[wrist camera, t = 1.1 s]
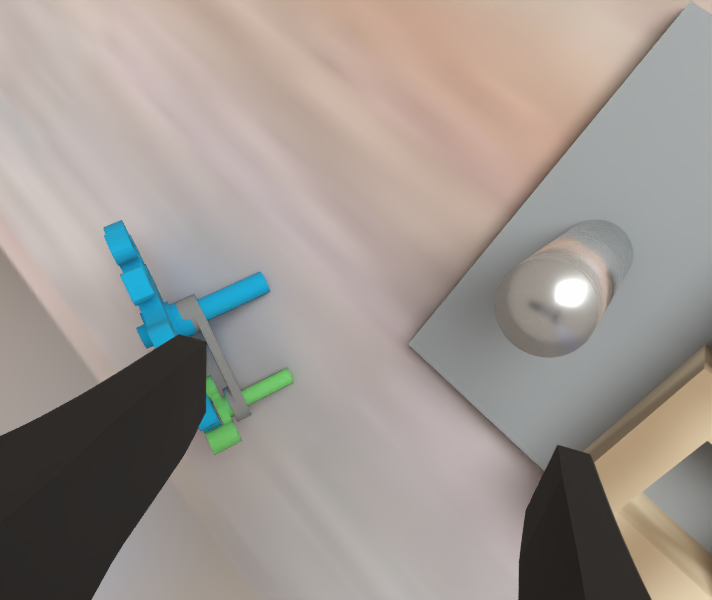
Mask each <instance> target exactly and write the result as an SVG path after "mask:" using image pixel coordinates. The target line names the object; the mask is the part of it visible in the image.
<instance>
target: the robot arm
mask: <svg viewBox="0 0 712 600" xmlns="http://www.w3.org/2000/svg"><path fill="white" fill-rule="evenodd" d="M205 413H206V342H205V341H201V340H198V339H194V338H191V337H187V336H184V335H181V334H178V335H177V336H175V337H173V338H172V339H170V340H168V341H167V342H165V343H164V344H162V345H160V346H159V347H157V348H156V349H154V350H153V351H151V352H149V353H148V354H146V355H145V356H143V357H142V358H140V359H139V360H137V361H135V362H134V363H132V364H131V365H129V366H128V367H126V368H124V369H123V370H121V371H120V372H118V373H116V374H115V375H113V376H111V377H110V378H108V379H106V380H105V381H103V382H101V383H100V384H98V385H96V386H95V387H93V388H92V389H90V390H88V391H87V392H85V393H83V394H81V395H79V396H78V397H76V398H74V399H72V400H71V401H69V402H67V403H65V404H63V405H61V406H60V407H58V408H56V409H54V410H52V411H50V412H49V413H47V414H45V415H43V416H41V417H39V418H37V419H35V420H33V421H31V422H29V423H27V424H25V425H23V426H21V427H19V428H17V429H15V430H12V431H10V432H8V433H6V434H4V435H1V436H0V600H91V599H92V598H93V596H94V594H95V592H96V590H97V589H98V587H99V585H100V583H101V581H102V579H103V578H104V576H105V574H106V572H107V570H108V569H109V567H110V565H111V563H112V562H113V560H114V558H115V557H116V555H117V553H118V552H119V550H120V549H121V547H122V546H123V544H124V543H125V541H126V540H127V538H128V537H129V535H130V534H131V532H132V531H133V529H134V528H135V527H136V525H137V524H138V522H139V521H140V519H141V518H142V516H143V515H144V513H145V512H146V510H147V509H148V507H149V506H150V505H151V503H152V502H153V500H154V499H155V497H156V496H157V494H158V493H159V492H160V490H161V489H162V487H163V486H164V484H165V483H166V481H167V480H168V478H169V477H170V475H171V474H172V472H173V471H174V469H175V468H176V466H177V465H178V463H179V462H180V460H181V459H182V457H183V456H184V454H185V453H186V451H187V449H188V447H189V445H190V443H191V441H192V439H193V437H194V436H195V434H196V432H197V430H198V427H199V425H200V423H201V421H202V419H203V417H204V415H205ZM519 600H652V599H651V597H650V595H649V593H648V591H647V589H646V587H645V585H644V583H643V581H642V579H641V576H640V574H639V572H638V570H637V568H636V566H635V563H634V561H633V559H632V557H631V554H630V552H629V550H628V548H627V545H626V543H625V541H624V539H623V536H622V534H621V532H620V529H619V527H618V524H617V522H616V519H615V517H614V514H613V512H612V509H611V507H610V504H609V502H608V499H607V497H606V494H605V491H604V489H603V486H602V483H601V480H600V478H599V475H598V472H597V469H596V466H595V463H594V461H593V459H592V457H591V455H590V454H588V453H585V452H581V451H578V450H574V449H571V448H568V447H564V446H561V445H557V447H556V449H555V451H554V453H553V455H552V457H551V459H550V461H549V463H548V465H547V467H546V469H545V471H544V474H543V476H542V478H541V480H540V482H539V484H538V486H537V488H536V490H535V492H534V494H533V496H532V498H531V501H530V503H529V505H528V507H527V509H526V512H525V520H524V527H523V534H522V542H521V550H520V558H519Z"/></svg>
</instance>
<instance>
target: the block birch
mask: <svg viewBox="0 0 712 600" xmlns="http://www.w3.org/2000/svg"><path fill="white" fill-rule="evenodd" d="M706 441H708V442H710V443H711V444H712V350H711V349H710V348H708V347H707V346H706V345H704V346H703V347H701V348H700V349H699V350H698V351H697V352H696V353H695V354H693V355H692V356H691V357H690V358H689V359H688V360H687V361H685V362H684V363H683V364H682V365H681V366H680V367H679V368H677V369H676V370H675V371H674V372H673V373H672V374H671V375H669V376H668V377H667V378H666V379H665V380H664V381H663V382H661V383H660V384H659V385H658V386H657V387H656V388H655V389H653V390H652V391H651V392H650V393H649V394H648V395H647V396H645V397H644V398H643V399H642V400H641V401H640V402H639V403H637V404H636V405H635V406H634V407H633V408H632V409H631V410H629V411H628V412H627V413H626V414H625V415H624V416H623V417H621V418H620V419H619V420H618V421H617V422H616V423H615V424H614V425H612V426H611V427H610V428H609V429H608V430H607V431H606V432H604V433H603V434H602V435H601V436H600V437H599V438H598V439H596V440H595V441H594V442H593V443H592V444H591V445H590V446H588V447H587V448H586V449H585V450H584V451H583V452H585V453H588V454H590V455H591V457H592V459H593V461H594V463H595V466H596V469H597V472H598V475H599V478H600V480H601V483H602V486H603V489H604V491H605V494H606V497H607V499H608V502H609V504H610V507H611V509H612V512H613V514H614V517H615V519H616V522H617V524H618V527H619V529H620V532H621V534H622V536H623V539H624V541H625V543H626V545H627V548H628V550H629V552H630V554H631V557H632V559H633V561H634V563H635V566H636V568H637V570H638V572H639V574H640V576H641V579H642V581H643V583H644V585H645V587H646V589H647V591H648V593H649V595H650V597H651V599H652V600H712V555H711V554H710V553H709V552H708V551H707V550H706V549H705V548H704V547H702V546H701V545H700V544H699V543H698V542H697V541H696V540H695V539H694V538H692V537H691V536H690V535H689V534H688V533H687V532H686V531H685V530H684V529H683V528H681V527H680V526H679V525H678V524H677V523H676V522H675V521H674V520H673V519H671V518H670V517H669V516H668V515H667V514H666V513H665V512H664V511H663V510H661V509H660V508H659V507H658V506H657V505H656V504H655V503H654V502H653V501H652V500H650V499H649V498H648V497H647V496H646V495H645V494H644V493H643V491H644V490H645V489H646V488H648V487H649V486H650V485H651V484H653V483H654V482H655V481H657V480H658V479H659V478H660V477H662V476H663V475H664V474H665V473H667V472H668V471H669V470H671V469H672V468H673V467H674V466H676V465H677V464H678V463H679V462H681V461H682V460H683V459H685V458H686V457H687V456H688V455H690V454H691V453H692V452H694V451H695V450H696V449H697V448H699V447H700V446H701V445H702V444H704V443H705V442H706Z"/></svg>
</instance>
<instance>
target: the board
mask: <svg viewBox="0 0 712 600" xmlns="http://www.w3.org/2000/svg"><path fill="white" fill-rule="evenodd" d="M597 219H598V220H605V221H609V222H611V223H614V224H615V225H617V226H619V227H620V228H621V229H622V230H623V231H624V232H625V233H626V234H627V235H628V237H629V239H630V241H631V243H632V247H633V262H632V265H631V268H630V270H629V272H628V273H627V275H626V277H625V278H624V280H623V282H622V284H621V285H620V287H619V289H618V290H617V292H616V294H615V296H614V297H613V299H612V301H611V302H610V304H609V306H608V308H607V309H606V311H605V313H604V314H603V316H602V318H601V320H600V321H599V323H598V325H597V326H596V328H595V330H594V332H593V333H592V335H591V336H590V338H589V339H588V340H587V341H586V343H585V344H584V345H582V346H581V347H580V348H579V349H577V350H576V351H574V352H572V353H570V354H567V355H564V356H560V357H553V358H545V357H538V356H534V355H531V354H528V353H526V352H524V351H522V350H520V349H519V348H517V347H516V346H514V345H513V344H512V343H511V342H510V341H509V340H508V339H507V338H506V337H505V335H504V334H503V332H502V331H501V329H500V327H499V325H498V323H497V320H496V316H495V310H494V302H495V295H496V291H497V289H498V286H499V284H500V282H501V281H502V279H503V278H504V276H505V275H506V274H507V273H508V272H509V271H510V270H511V269H513V268H514V267H515V266H517V265H518V264H520V263H521V262H523V261H524V260H526V259H527V258H529V257H530V256H532V255H533V254H534V253H536V252H537V251H539V250H540V249H542V248H543V247H545V246H546V245H548V244H549V243H551V242H552V241H553V240H555V239H556V238H558V237H559V236H561V235H562V234H564V233H565V232H567V231H568V230H570V229H571V228H572V227H574V226H576V225H577V224H579V223H581V222H584V221H587V220H597ZM408 345H409V346H410V347H411V348H413V349H414V350H415V351H416V352H417V353H418V354H419V355H420V356H421V357H422V358H423V359H424V360H425V361H426V362H428V363H429V364H430V365H431V366H432V367H433V368H434V369H435V370H436V371H437V372H438V373H439V374H440V375H441V376H443V377H444V378H445V379H446V380H447V381H448V382H449V383H450V384H451V385H452V386H453V387H454V388H455V389H456V390H458V391H459V392H460V393H461V394H462V395H463V396H464V397H465V398H466V399H467V400H468V401H469V402H470V403H471V404H473V405H474V406H475V407H476V408H477V409H478V410H479V411H480V412H481V413H482V414H483V415H484V416H485V417H486V418H488V419H489V420H490V421H491V422H492V423H493V424H494V425H495V426H496V427H497V428H498V429H499V430H500V431H501V432H503V433H504V434H505V435H506V436H507V437H508V438H509V439H510V440H511V441H512V442H513V443H514V444H515V445H516V446H518V447H519V448H520V449H521V450H522V451H523V452H524V453H525V454H526V455H527V456H528V457H529V458H530V459H531V460H533V461H534V462H535V463H536V464H537V465H538V466H539V467H540V468H541V469H542V470H543V471H545V469H546V467H547V465H548V463H549V461H550V459H551V457H552V455H553V453H554V451H555V449H556V447H557V445H561V446H564V447H568V448H571V449H574V450H578V451H581V452H583V451H584V450H585V449H586V448H587V447H588V446H590V445H591V444H592V443H593V442H594V441H595V440H596V439H598V438H599V437H600V436H601V435H602V434H603V433H604V432H606V431H607V430H608V429H609V428H610V427H611V426H612V425H614V424H615V423H616V422H617V421H618V420H619V419H620V418H621V417H623V416H624V415H625V414H626V413H627V412H628V411H629V410H631V409H632V408H633V407H634V406H635V405H636V404H637V403H639V402H640V401H641V400H642V399H643V398H644V397H645V396H647V395H648V394H649V393H650V392H651V391H652V390H653V389H655V388H656V387H657V386H658V385H659V384H660V383H661V382H663V381H664V380H665V379H666V378H667V377H668V376H669V375H671V374H672V373H673V372H674V371H675V370H676V369H677V368H679V367H680V366H681V365H682V364H683V363H684V362H685V361H687V360H688V359H689V358H690V357H691V356H692V355H693V354H695V353H696V352H697V351H698V350H699V349H700V348H701V347H703V346H704V345H706V346H707V347H708V348H710V349H711V350H712V15H711V14H710V13H708V12H707V11H705V10H704V9H702V8H701V7H699V6H698V5H696V4H695V3H693V2H692V1H690V3H689V4H688V5H687V6H686V8H685V9H684V10H683V11H682V12H681V14H680V15H679V16H678V17H677V18H676V20H675V21H674V22H673V23H672V24H671V26H670V27H669V28H668V29H667V31H666V32H665V33H664V34H663V35H662V37H661V38H660V39H659V40H658V41H657V43H656V44H655V45H654V46H653V48H652V49H651V50H650V51H649V52H648V54H647V55H646V56H645V57H644V58H643V60H642V61H641V62H640V63H639V65H638V66H637V67H636V68H635V69H634V71H633V72H632V73H631V74H630V75H629V77H628V78H627V79H626V80H625V82H624V83H623V84H622V85H621V86H620V88H619V89H618V90H617V91H616V92H615V94H614V95H613V96H612V97H611V98H610V100H609V101H608V102H607V103H606V105H605V106H604V107H603V108H602V109H601V111H600V112H599V113H598V114H597V115H596V117H595V118H594V119H593V120H592V122H591V123H590V124H589V125H588V126H587V128H586V129H585V130H584V131H583V132H582V134H581V135H580V136H579V137H578V139H577V140H576V141H575V142H574V143H573V145H572V146H571V147H570V148H569V149H568V151H567V152H566V153H565V154H564V156H563V157H562V158H561V159H560V160H559V162H558V163H557V164H556V165H555V166H554V168H553V169H552V170H551V171H550V172H549V174H548V175H547V176H546V177H545V179H544V180H543V181H542V182H541V183H540V185H539V186H538V187H537V188H536V189H535V191H534V192H533V193H532V194H531V196H530V197H529V198H528V199H527V200H526V202H525V203H524V204H523V205H522V206H521V208H520V209H519V210H518V211H517V213H516V214H515V215H514V216H513V217H512V219H511V220H510V221H509V222H508V223H507V225H506V226H505V227H504V228H503V230H502V231H501V232H500V233H499V234H498V236H497V237H496V238H495V239H494V240H493V242H492V243H491V244H490V245H489V246H488V248H487V249H486V250H485V251H484V253H483V254H482V255H481V256H480V257H479V259H478V260H477V261H476V262H475V263H474V265H473V266H472V267H471V268H470V270H469V271H468V272H467V273H466V274H465V276H464V277H463V278H462V279H461V280H460V282H459V283H458V284H457V285H456V287H455V288H454V289H453V290H452V291H451V293H450V294H449V295H448V296H447V297H446V299H445V300H444V301H443V302H442V304H441V305H440V306H439V307H438V308H437V310H436V311H435V312H434V313H433V314H432V316H431V317H430V318H429V319H428V320H427V322H426V323H425V324H424V325H423V327H422V328H421V329H420V330H419V331H418V333H417V334H416V335H415V336H414V337H413V339H412V340H411V341H410V342H409V344H408ZM643 493H644V494H645V495H646V496H647V497H648V498H649V499H650V500H652V501H653V502H654V503H655V504H656V505H657V506H658V507H659V508H660V509H661V510H663V511H664V512H665V513H666V514H667V515H668V516H669V517H670V518H671V519H673V520H674V521H675V522H676V523H677V524H678V525H679V526H680V527H681V528H683V529H684V530H685V531H686V532H687V533H688V534H689V535H690V536H691V537H692V538H694V539H695V540H696V541H697V542H698V543H699V544H700V545H701V546H702V547H704V548H705V549H706V550H707V551H708V552H709V553H710V554H711V555H712V444H711V443H710V442H708V441H706V442H705V443H704V444H702V445H701V446H700V447H699V448H697V449H696V450H695V451H694V452H692V453H691V454H690V455H688V456H687V457H686V458H685V459H683V460H682V461H681V462H679V463H678V464H677V465H676V466H674V467H673V468H672V469H671V470H669V471H668V472H667V473H665V474H664V475H663V476H662V477H660V478H659V479H658V480H657V481H655V482H654V483H653V484H651V485H650V486H649V487H648V488H646V489H645V490H644V491H643Z"/></svg>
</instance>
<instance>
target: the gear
mask: <svg viewBox="0 0 712 600" xmlns="http://www.w3.org/2000/svg"><path fill="white" fill-rule="evenodd" d="M104 232H105V234H106V235H104V237H105V240H106V242H107V245H108V247H109V249H110V251H111V253H112V255H113V257H114V259H115V261H116V263H117V264H118V266H120V267H121V269H122V271H123V274H120V276H121V278H122V280H123V283H124V285H125V287H126V289H127V291H128V293H129V295H130V297H131V299H132V301H133V303H134V304H135V306H137V305H138V306H139V308H140V310H141V312H142V313H140V315H141V317H142V320H143V322H144V325H142V326H139V327H137V331H138V333H139V335H140V338H141V340H142V342H143V343H144V345H145V347H146V348H149V347H152V346H154V347H155V349H156V348H157V347H159V346H160V345H162V344H164V343H165V342H167V341H168V340H170V339H172V338H173V337H175V336H177V335H178V334H181V335H184V336H187V337H190V336H192V335H194V334H196V333H198V332H200V331H201V332H202V334H203V336H204V338H205V340H206V342H207V344H208V347H209V349H210V351H211V353H212V355H213V357H214V359H215V361H216V363H217V365H218V367H219V369H220V371H221V373H222V376H223V378H224V380H225V382H226V384H227V386H228V387H226V388H224V389H222V390H223V392H224V394H225V396H223V397H221V396H220V394H219V392H218V390H217V388H216V386H215V384H214V382H213V380H212V378H211V376H208V377H206V413H205V415H204V417H203V419H202V421H201V423H200V425H199V427H198V428H199V430H200V431H202V430H203V431H204V433H205V435H206V438H207V440H208V442H209V444H210V446H211V448H212V450H213V452H214V454H217V453H219V452H221V451H223V450H225V449H227V448H229V447H231V446H233V445H235V444H237V443H239V442H240V441H242V440H241V438H240V436H239V433H238V431H237V429H236V427H235V425H234V423H233V421H232V419H231V417H232V416H234V415H235V417H236V419H237V421H240V420H242V419H244V418H246V417H248V416H250V415H252V414H251V412H250V409H249V407H248V405H250V404H252V403H254V402H256V401H257V400H259V399H261V398H263V397H265V396H267V395H269V394H271V393H273V392H275V391H277V390H279V389H281V388H283V387H285V386H287V385H289V384H291V383H293V379H292V377H291V374H290V373H289V371H288V369H287V368H286V369H284V370H282V371H280V372H278V373H276V374H274V375H272V376H270V377H268V378H266V379H264V380H262V381H260V382H258V383H256V384H254V385H252V386H250V387H248V388H246V389H244V390H242V391H240V388H239V386H238V384H237V382H236V380H235V378H234V376H233V374H232V372H231V370H230V368H229V365H228V363H227V361H226V359H225V357H224V355H223V353H222V351H221V349H220V347H219V345H218V343H217V340H216V338H215V336H214V334H213V332H212V330H211V328H210V326H209V324H208V322H207V321H208V320H210V319H212V318H214V317H216V316H218V315H220V314H223V313H225V312H227V311H229V310H231V309H233V308H236V307H238V306H240V305H242V304H244V303H246V302H248V301H251V300H253V299H255V298H257V297H259V296H261V295H264V294H266V293H268V292H270V291H269V287H268V285H267V282H266V280H265V278H264V277H263V275H262V273H261V272H258V273H256V274H254V275H252V276H249V277H247V278H245V279H243V280H241V281H238V282H236V283H234V284H232V285H230V286H227V287H225V288H223V289H221V290H219V291H216V292H214V293H212V294H210V295H208V296H205V297H203V298H201V299H199V300H197V299H196V297H195V295H194V294H193V295H191V296H189V297H186V298H184V299H182V300H180V301H178V302H175V303H173V304H171V305H169V304H168V302H167V301H166V302H163V300H162V298H161V296H160V293H159V291H158V289H157V287H156V284H155V282H154V280H153V278H152V276H151V274H150V272H149V270H148V268H147V266H146V264H144V262H143V260H142V258H141V256H140V253H139V251H138V249H137V247H136V245H135V243H134V241H133V239H132V237H131V236H130V235H129V233H128V231H127V229H126V227H125V225H124V223H123V221H122V220H121V221H118V222H116V223H113V224H111V225H108V226H106V227H104ZM211 399H212V401H213V403H214V405H215V408H216V410H217V412H218V414H219V416H220V418H221V420H222V422H223V425H222V424H221V422H220V420H219V417H218V415H217V413H216V411H215V409H214V407H213V405H212V401H211ZM220 425H221V426H220ZM218 426H219V427H218ZM216 427H217V428H216ZM214 428H215V429H214ZM212 429H213V430H212ZM210 430H211V431H210ZM208 431H209V432H208ZM206 432H207V433H206Z"/></svg>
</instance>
